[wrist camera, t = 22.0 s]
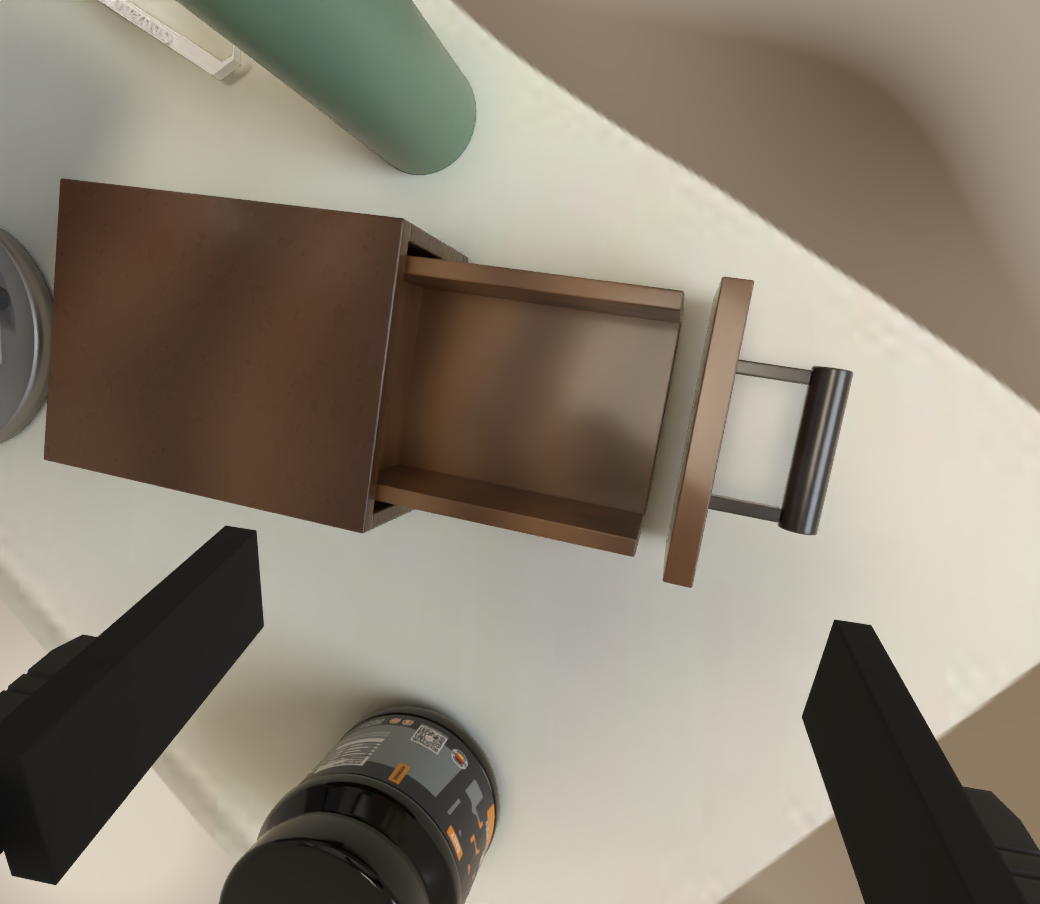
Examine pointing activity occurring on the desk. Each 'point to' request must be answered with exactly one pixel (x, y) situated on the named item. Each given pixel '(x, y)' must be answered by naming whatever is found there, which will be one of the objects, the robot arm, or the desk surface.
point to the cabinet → (228, 347)
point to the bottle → (359, 70)
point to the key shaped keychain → (176, 40)
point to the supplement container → (378, 820)
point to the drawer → (576, 408)
